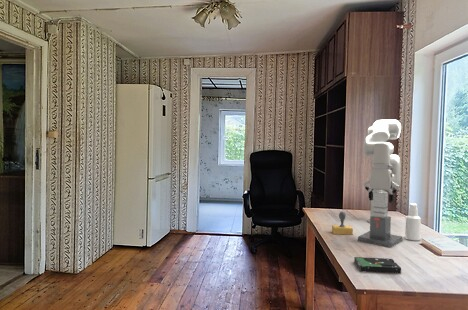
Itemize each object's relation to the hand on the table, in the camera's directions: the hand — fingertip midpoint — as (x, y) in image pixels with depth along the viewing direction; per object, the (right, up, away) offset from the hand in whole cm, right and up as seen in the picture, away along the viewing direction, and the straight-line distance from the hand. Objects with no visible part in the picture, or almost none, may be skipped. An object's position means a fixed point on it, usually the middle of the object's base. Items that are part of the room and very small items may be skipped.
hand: (380, 201), depth 164 cm
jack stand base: (0, -20, +1) cm, 20 cm away
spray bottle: (+18, -20, +4) cm, 27 cm away
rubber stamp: (-15, -20, +14) cm, 28 cm away
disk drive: (-18, -22, -36) cm, 46 cm away
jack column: (0, -18, +1) cm, 18 cm away
